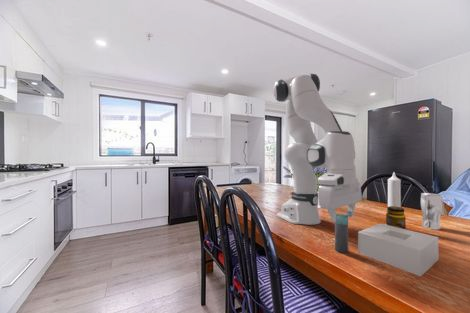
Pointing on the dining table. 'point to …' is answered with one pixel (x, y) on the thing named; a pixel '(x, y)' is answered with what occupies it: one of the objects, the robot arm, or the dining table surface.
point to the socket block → (399, 247)
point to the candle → (394, 191)
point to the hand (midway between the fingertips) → (342, 218)
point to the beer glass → (431, 210)
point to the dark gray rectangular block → (341, 234)
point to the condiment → (395, 217)
